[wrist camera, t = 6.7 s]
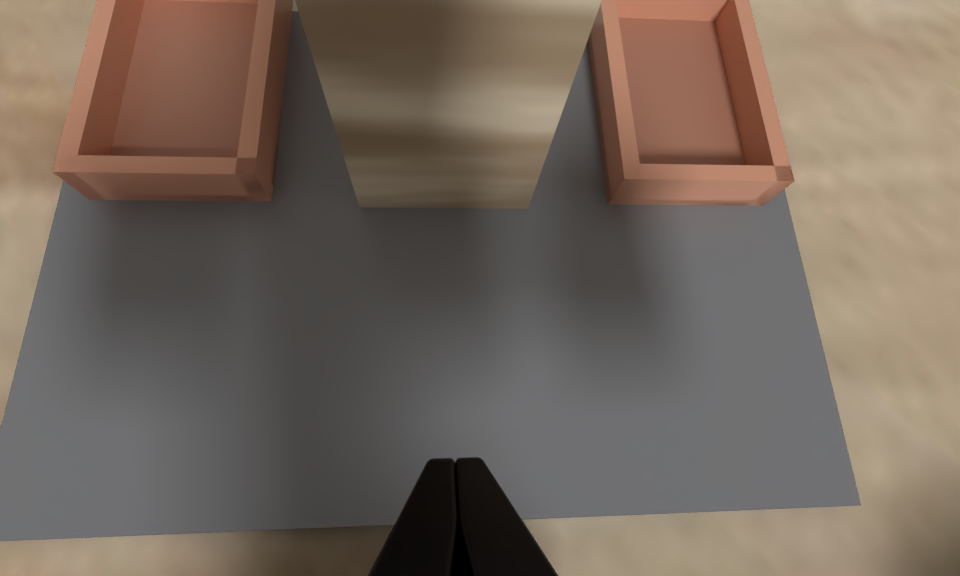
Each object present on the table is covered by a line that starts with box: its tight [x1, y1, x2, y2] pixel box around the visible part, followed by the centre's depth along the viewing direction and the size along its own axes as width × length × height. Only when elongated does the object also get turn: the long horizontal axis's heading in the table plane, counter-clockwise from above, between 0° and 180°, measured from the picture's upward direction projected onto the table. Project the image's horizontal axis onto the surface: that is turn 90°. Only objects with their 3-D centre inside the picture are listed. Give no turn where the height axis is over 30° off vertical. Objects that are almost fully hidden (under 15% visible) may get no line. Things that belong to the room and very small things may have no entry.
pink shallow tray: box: [588, 0, 794, 206], centre depth 20 cm, size 9×6×2 cm, turn 2°
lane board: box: [0, 0, 861, 541], centre depth 19 cm, size 30×26×3 cm
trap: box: [52, 0, 293, 201], centre depth 18 cm, size 9×6×2 cm, turn 2°
